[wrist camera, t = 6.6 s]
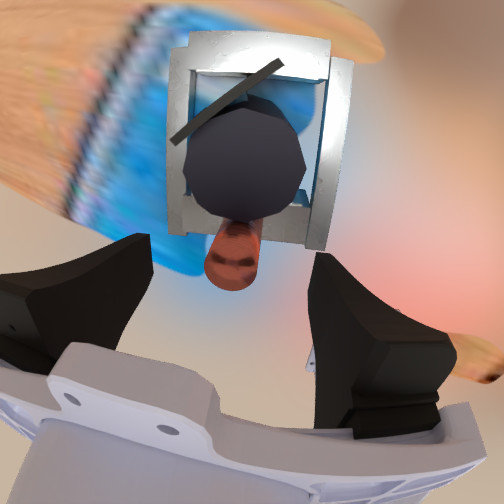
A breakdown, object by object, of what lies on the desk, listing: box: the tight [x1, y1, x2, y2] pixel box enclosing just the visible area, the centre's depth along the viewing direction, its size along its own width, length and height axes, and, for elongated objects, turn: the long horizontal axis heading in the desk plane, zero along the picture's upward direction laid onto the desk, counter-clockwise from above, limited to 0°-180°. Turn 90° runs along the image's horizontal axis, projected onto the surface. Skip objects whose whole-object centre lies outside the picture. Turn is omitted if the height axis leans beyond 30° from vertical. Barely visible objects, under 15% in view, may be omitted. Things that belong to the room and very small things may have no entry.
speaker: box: [169, 57, 306, 223], centre depth 15 cm, size 8×6×10 cm
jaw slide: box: [182, 188, 311, 291], centre depth 17 cm, size 3×8×10 cm, turn 86°
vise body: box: [166, 30, 354, 251], centre depth 18 cm, size 14×12×4 cm
